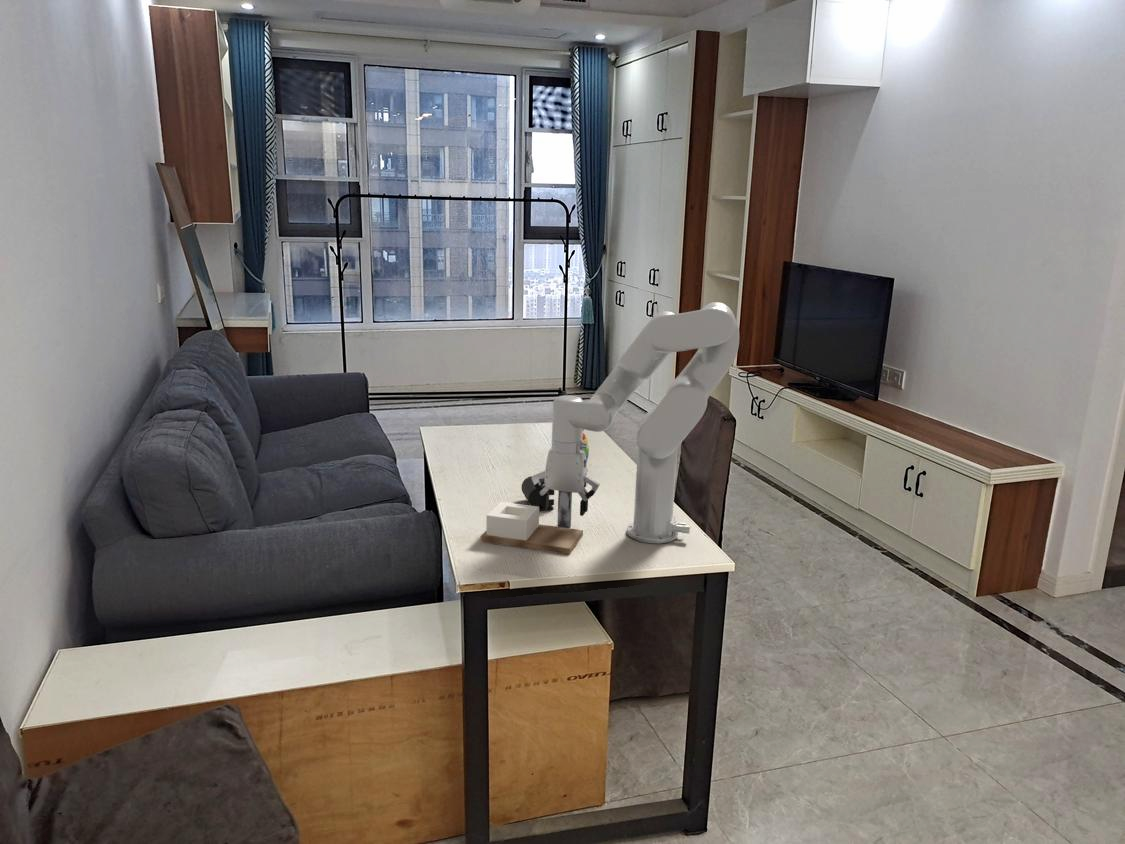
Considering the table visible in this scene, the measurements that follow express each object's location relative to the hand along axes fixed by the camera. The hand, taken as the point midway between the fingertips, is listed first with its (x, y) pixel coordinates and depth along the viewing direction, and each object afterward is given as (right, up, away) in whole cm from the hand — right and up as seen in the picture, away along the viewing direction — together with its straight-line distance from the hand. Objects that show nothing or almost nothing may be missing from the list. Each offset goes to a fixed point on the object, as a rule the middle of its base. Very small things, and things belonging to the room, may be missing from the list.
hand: (564, 511), depth 208 cm
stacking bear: (+2, +7, +45) cm, 46 cm away
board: (-8, -6, -8) cm, 12 cm away
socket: (-12, -4, -7) cm, 15 cm away
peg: (0, -4, +1) cm, 4 cm away
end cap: (-7, 0, +16) cm, 17 cm away
